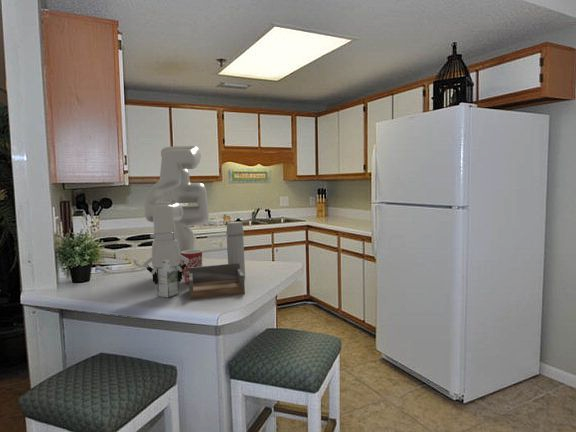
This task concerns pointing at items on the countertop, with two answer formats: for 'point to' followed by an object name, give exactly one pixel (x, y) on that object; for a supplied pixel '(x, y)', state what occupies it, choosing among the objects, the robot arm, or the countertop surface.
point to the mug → (191, 262)
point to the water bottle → (235, 244)
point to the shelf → (216, 281)
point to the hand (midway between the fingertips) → (167, 282)
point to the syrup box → (167, 280)
